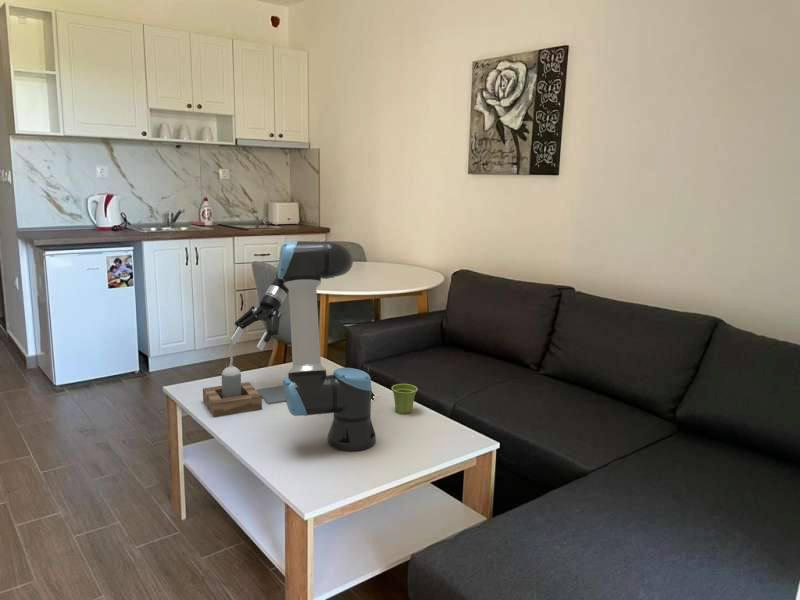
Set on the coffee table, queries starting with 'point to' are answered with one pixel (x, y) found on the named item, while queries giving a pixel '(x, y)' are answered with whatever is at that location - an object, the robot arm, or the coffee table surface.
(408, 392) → the plant pot
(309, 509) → the coffee table surface
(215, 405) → the dock
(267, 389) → the mat
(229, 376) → the humidifier
